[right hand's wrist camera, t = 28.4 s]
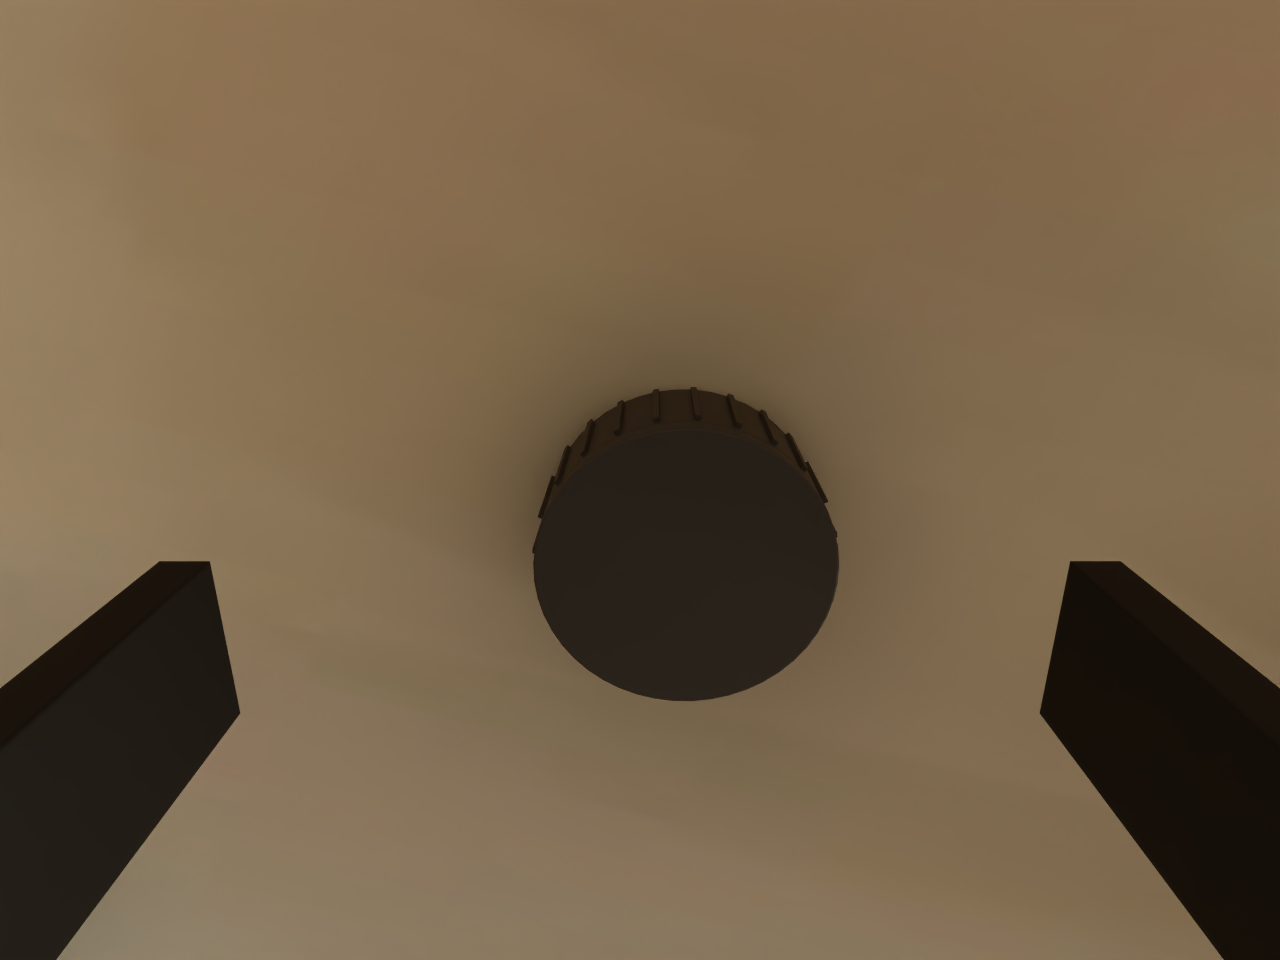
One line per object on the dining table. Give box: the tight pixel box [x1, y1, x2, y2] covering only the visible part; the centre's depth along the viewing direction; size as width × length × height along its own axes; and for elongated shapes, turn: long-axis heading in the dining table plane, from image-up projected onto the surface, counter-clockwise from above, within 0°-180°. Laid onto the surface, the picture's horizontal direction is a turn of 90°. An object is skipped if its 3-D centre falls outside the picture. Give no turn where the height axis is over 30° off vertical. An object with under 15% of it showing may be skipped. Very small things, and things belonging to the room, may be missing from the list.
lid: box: [533, 387, 839, 701], centre depth 15 cm, size 5×5×2 cm
